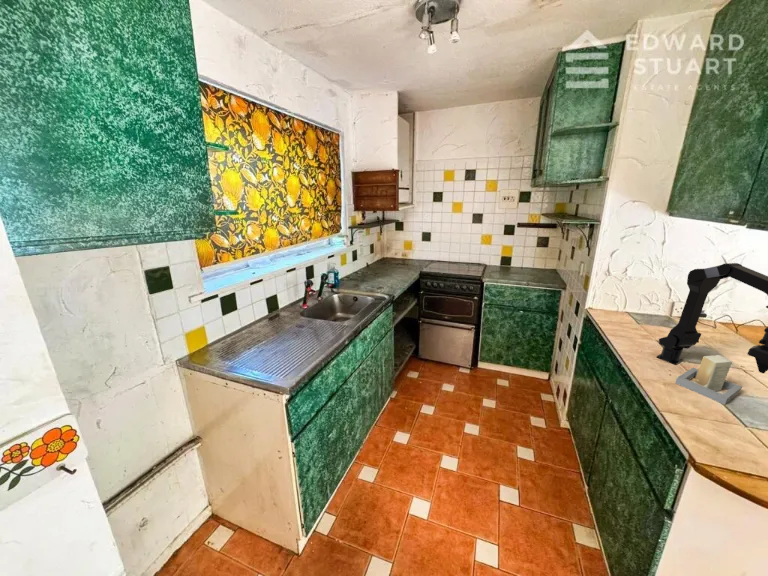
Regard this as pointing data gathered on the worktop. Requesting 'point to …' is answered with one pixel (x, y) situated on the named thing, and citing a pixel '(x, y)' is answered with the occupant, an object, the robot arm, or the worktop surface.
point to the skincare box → (713, 372)
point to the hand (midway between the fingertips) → (762, 371)
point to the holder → (721, 398)
